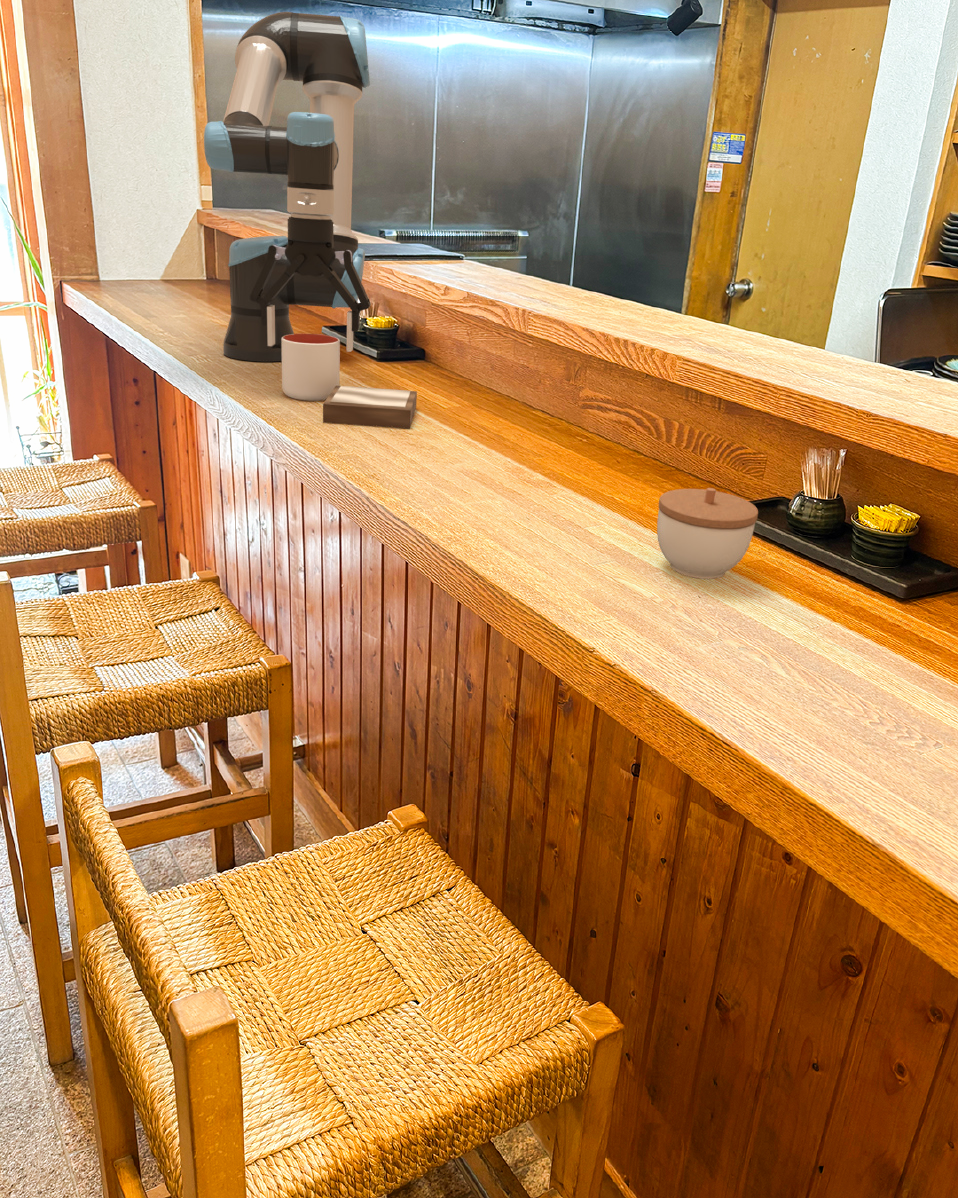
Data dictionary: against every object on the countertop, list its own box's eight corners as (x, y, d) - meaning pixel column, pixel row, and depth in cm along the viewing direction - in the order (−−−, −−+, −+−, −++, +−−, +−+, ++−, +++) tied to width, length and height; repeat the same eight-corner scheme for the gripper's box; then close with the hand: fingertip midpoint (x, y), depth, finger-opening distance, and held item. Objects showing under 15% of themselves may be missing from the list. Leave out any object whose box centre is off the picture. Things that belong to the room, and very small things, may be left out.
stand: (335, 402, 170) (335, 383, 169) (416, 408, 170) (416, 389, 169) (322, 422, 157) (323, 402, 156) (409, 428, 158) (410, 408, 156)
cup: (328, 404, 168) (328, 346, 164) (273, 398, 170) (272, 339, 166) (346, 393, 177) (347, 337, 173) (294, 387, 179) (294, 331, 175)
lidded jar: (762, 571, 111) (778, 492, 107) (715, 596, 104) (731, 512, 100) (680, 544, 117) (693, 469, 113) (631, 565, 110) (643, 485, 106)
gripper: (229, 211, 158) (233, 345, 166) (383, 223, 158) (380, 356, 166) (240, 210, 165) (243, 339, 173) (388, 221, 165) (384, 349, 173)
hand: (310, 347), depth 170 cm, fingers open, 13 cm apart
